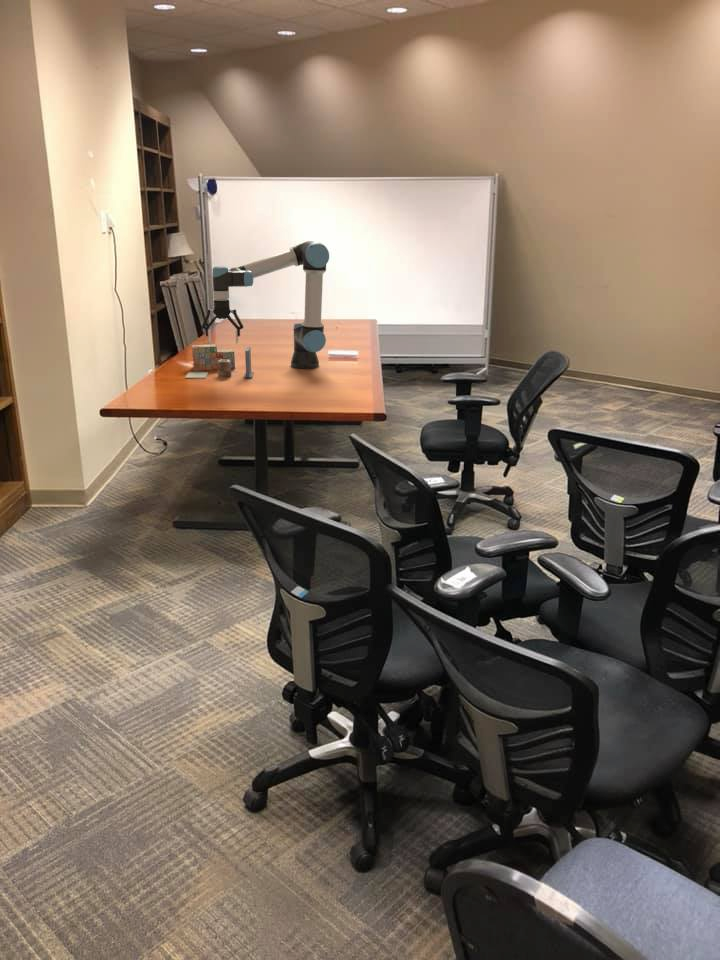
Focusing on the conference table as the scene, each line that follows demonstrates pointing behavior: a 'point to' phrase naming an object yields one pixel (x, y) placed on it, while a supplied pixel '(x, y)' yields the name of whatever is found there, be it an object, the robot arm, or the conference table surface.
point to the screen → (248, 364)
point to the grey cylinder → (224, 368)
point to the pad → (197, 375)
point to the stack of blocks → (210, 357)
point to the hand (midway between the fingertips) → (223, 343)
